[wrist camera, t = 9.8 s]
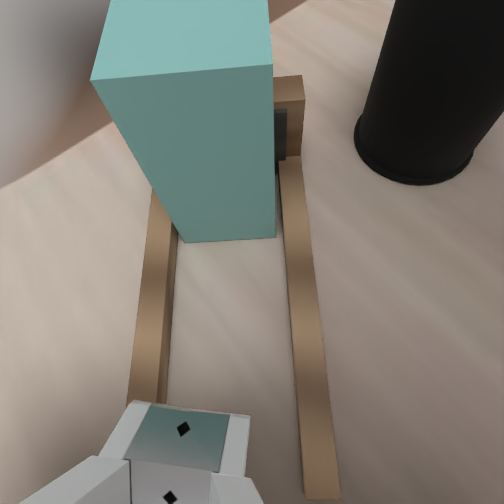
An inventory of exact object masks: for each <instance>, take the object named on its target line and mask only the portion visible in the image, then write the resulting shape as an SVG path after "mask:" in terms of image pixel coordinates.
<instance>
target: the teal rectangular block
mask: <svg viewBox="0 0 504 504" xmlns="http://www.w3.org/2000/svg"><path fill="white" fill-rule="evenodd" d="M90 81H91V83H92V84H93V86H94V88H95V90H96V92H97V93H98V95H99V97H100V98H101V100H102V102H103V103H104V105H105V107H106V108H107V110H108V112H109V114H110V115H111V117H112V119H113V121H114V122H115V124H116V126H117V128H118V129H119V131H120V133H121V134H122V136H123V138H124V140H125V141H126V143H127V145H128V146H129V148H130V150H131V152H132V153H133V155H134V157H135V158H136V160H137V162H138V164H139V165H140V167H141V169H142V170H143V172H144V174H145V176H146V177H147V179H148V181H149V183H150V184H151V186H152V188H153V189H154V191H155V193H156V195H157V196H158V198H159V200H160V201H161V203H162V205H163V207H164V208H165V210H166V212H167V213H168V215H169V217H170V219H171V220H172V222H173V224H174V225H175V227H176V229H177V231H178V232H179V234H180V236H181V237H182V239H183V241H184V243H194V242H210V241H227V240H243V239H260V238H276V226H275V166H274V107H273V61H272V49H271V38H270V26H269V15H268V3H267V0H111V3H110V6H109V10H108V14H107V18H106V21H105V25H104V29H103V33H102V37H101V40H100V45H99V48H98V52H97V56H96V60H95V63H94V67H93V71H92V75H91V79H90Z"/></svg>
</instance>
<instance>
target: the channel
mask: <svg viewBox="0 0 504 504" xmlns="http://www.w3.org/2000/svg"><path fill="white" fill-rule="evenodd" d="M273 107H274V166H275V172H278V176H279V188H280V201H281V213H282V226H283V238H284V251H285V263H286V276H287V288H288V300H289V313H290V325H291V338H292V350H293V363H294V375H295V388H296V400H297V412H298V425H299V437H300V450H301V462H302V475H303V487H304V494H305V497H306V500H332V499H341V492H340V483H339V475H338V467H337V458H336V450H335V441H334V433H333V425H332V416H331V408H330V400H329V391H328V383H327V374H326V366H325V358H324V349H323V341H322V333H321V324H320V316H319V307H318V299H317V291H316V282H315V274H314V266H313V257H312V249H311V240H310V232H309V224H308V215H307V207H306V199H305V190H304V182H303V173H302V165H301V157H300V155H301V143H302V132H303V121H304V109H305V94H304V86H303V79H302V75H296V76H285V77H273ZM177 241H178V231H177V229H176V227H175V225H174V224H173V222H172V220H171V219H170V217H169V215H168V213H167V212H166V210H165V208H164V207H163V205H162V203H161V201H160V200H159V198H158V196H157V195H156V193H155V191H154V189H153V188H152V195H151V203H150V212H149V220H148V229H147V237H146V245H145V254H144V262H143V270H142V279H141V287H140V295H139V304H138V312H137V320H136V329H135V337H134V345H133V354H132V362H131V370H130V379H129V387H128V396H127V404H126V408H127V407H128V405H129V404H130V403H131V402H132V401H133V400H139V401H145V402H151V403H160V404H165V403H166V390H167V376H168V363H169V349H170V335H171V322H172V308H173V295H174V281H175V268H176V254H177Z"/></svg>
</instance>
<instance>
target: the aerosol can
mask: <svg viewBox="0 0 504 504" xmlns="http://www.w3.org/2000/svg"><path fill="white" fill-rule="evenodd" d="M503 111H504V0H396V1H395V4H394V8H393V11H392V14H391V18H390V21H389V25H388V28H387V32H386V35H385V39H384V42H383V46H382V49H381V52H380V56H379V59H378V63H377V66H376V70H375V73H374V77H373V80H372V83H371V87H370V90H369V94H368V97H367V101H366V104H365V108H364V111H363V113H362V115H361V116H360V118H359V119H358V121H357V123H356V126H355V131H354V139H355V145H356V148H357V150H358V152H359V154H360V156H361V157H362V158H363V160H364V161H365V162H366V163H367V164H368V165H369V166H370V167H371V168H372V169H374V170H375V171H377V172H378V173H380V174H381V175H383V176H385V177H388V178H390V179H392V180H395V181H399V182H403V183H408V184H416V185H422V184H433V183H438V182H442V181H445V180H447V179H450V178H452V177H454V176H455V175H457V174H458V173H460V172H461V171H462V170H463V169H464V168H465V167H466V166H467V165H468V164H469V162H470V160H471V158H472V156H473V152H474V149H475V148H476V147H477V145H478V144H479V143H480V141H481V140H482V139H483V137H484V136H485V135H486V134H487V132H488V131H489V130H490V128H491V127H492V126H493V124H494V123H495V122H496V121H497V119H498V118H499V117H500V115H501V114H502V113H503Z"/></svg>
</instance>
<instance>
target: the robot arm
mask: <svg viewBox="0 0 504 504" xmlns="http://www.w3.org/2000/svg"><path fill="white" fill-rule="evenodd" d="M250 421H251V417H250V415H243V414H235V413H231V414H230V413H225V412H217V411H209V410H201V409H193V408H192V409H191V408H185V407H179V406H173V405H166V404H160V403H151V402H145V401H139V400H133V401H132V402H131V403H130V404H129V405H128V407H127V408H126V410H125V412H124V413H123V415H122V417H121V418H120V420H119V422H118V423H117V425H116V427H115V428H114V430H113V432H112V433H111V435H110V437H109V438H108V440H107V442H106V443H105V445H104V447H103V448H102V450H101V452H100V453H99V455H98V456H94V455H91V456H90V457H88V458H87V459H85V460H84V461H82V462H81V463H79V464H78V465H76V466H75V467H73V468H72V469H70V470H69V471H67V472H66V473H64V474H63V475H61V476H60V477H58V478H57V479H55V480H54V481H52V482H51V483H49V484H48V485H46V486H45V487H43V488H42V489H40V490H38V491H37V492H35V493H34V494H32V495H31V496H29V497H28V498H26V499H25V500H23V501H22V502H20V503H19V504H264V502H263V500H262V498H261V496H260V494H259V492H258V491H257V489H256V487H255V485H254V483H253V481H252V479H251V478H247V477H245V469H246V460H247V450H248V440H249V431H250Z"/></svg>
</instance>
